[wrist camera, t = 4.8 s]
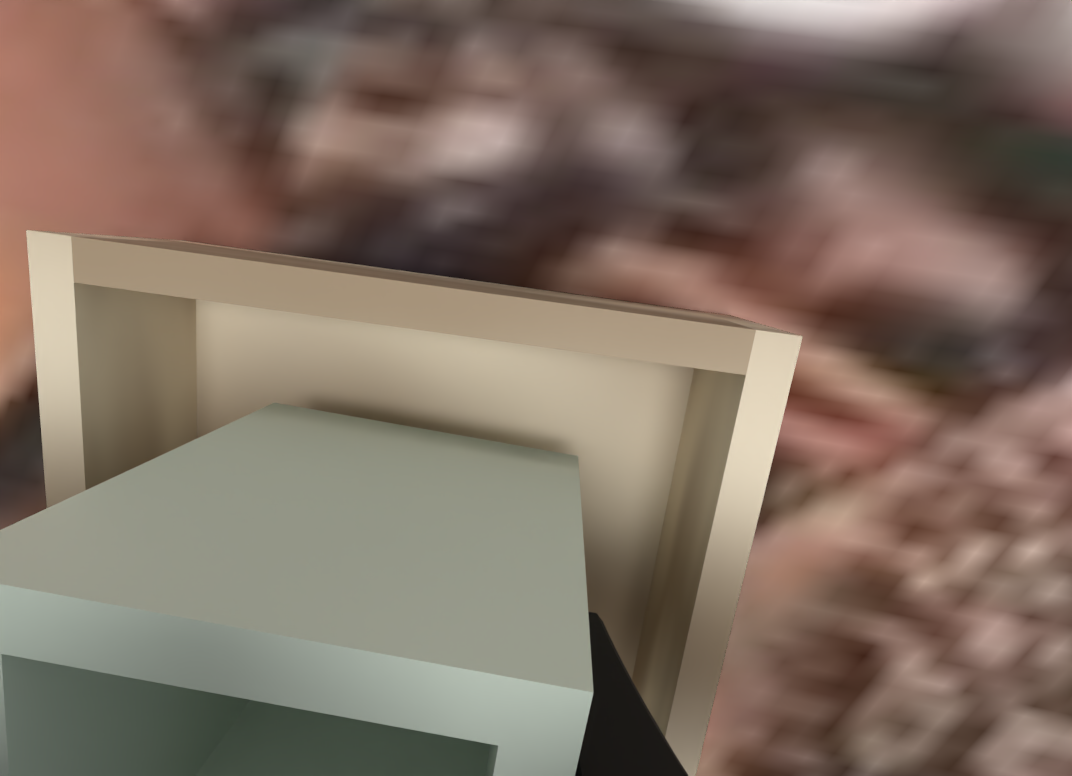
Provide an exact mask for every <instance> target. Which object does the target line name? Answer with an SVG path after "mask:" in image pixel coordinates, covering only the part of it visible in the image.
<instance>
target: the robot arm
mask: <svg viewBox="0 0 1072 776" xmlns="http://www.w3.org/2000/svg"><path fill="white" fill-rule="evenodd" d="M588 615H589V630H590V646H591V661H592V676H593V692H594V693H593V697H592V702H591V706H590V711H589V715H588V720H587V724H586V729H585V733H584V737H583V742H582V746H581V751H580V755H579V760H578V764H577V769H576V773H575V776H688V774H687V772H686V771H685V769H684V768H683V766H682V764H681V763H680V761H679V760H678V758H677V757H676V755H675V753H674V752H673V750H672V748H671V747H670V745H669V743H668V742H667V740H666V738H665V737H664V735H663V733H662V731H661V730H660V728H659V726H658V725H657V723H656V721H655V720H654V718H653V716H652V715H651V713H650V711H649V709H648V708H647V706H646V704H645V703H644V701H643V699H642V697H641V695H640V694H639V692H638V690H637V688H636V686H635V684H634V683H633V681H632V679H631V677H630V675H629V673H628V671H627V669H626V668H625V666H624V664H623V662H622V660H621V658H620V656H619V654H618V652H617V650H616V648H615V646H614V644H613V642H612V640H611V638H610V636H609V634H608V631H607V629H606V627H605V625H604V623H603V621H602V620H601V618H600V617H599V615H598V614H597V613H593V612H588Z"/></svg>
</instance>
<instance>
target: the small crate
mask: <svg viewBox="0 0 1072 776" xmlns="http://www.w3.org/2000/svg"><path fill="white" fill-rule="evenodd" d="M593 693H594V692H593V676H592V661H591V646H590V630H589V615H588V600H587V585H586V569H585V554H584V539H583V523H582V508H581V493H580V477H579V462H578V456H575V455H570V454H564V453H558V452H553V451H547V450H541V449H536V448H530V447H524V446H519V445H513V444H507V443H502V442H496V441H490V440H485V439H479V438H473V437H468V436H462V435H456V434H450V433H445V432H439V431H433V430H428V429H422V428H416V427H411V426H405V425H399V424H394V423H388V422H382V421H377V420H371V419H365V418H360V417H354V416H348V415H343V414H337V413H331V412H325V411H320V410H314V409H308V408H303V407H297V406H291V405H286V404H280V403H272V404H270V405H268V406H266V407H264V408H262V409H259V410H257V411H255V412H253V413H251V414H249V415H247V416H244V417H242V418H240V419H238V420H236V421H234V422H231V423H229V424H227V425H225V426H223V427H221V428H219V429H216V430H214V431H212V432H210V433H208V434H206V435H204V436H201V437H199V438H197V439H195V440H193V441H191V442H189V443H186V444H184V445H182V446H180V447H178V448H176V449H173V450H171V451H169V452H167V453H165V454H163V455H161V456H158V457H156V458H154V459H152V460H150V461H148V462H146V463H143V464H141V465H139V466H137V467H135V468H133V469H130V470H128V471H126V472H124V473H122V474H120V475H118V476H115V477H113V478H111V479H109V480H107V481H105V482H103V483H100V484H98V485H96V486H94V487H92V488H90V489H88V490H85V491H83V492H81V493H79V494H77V495H75V496H72V497H70V498H68V499H66V500H64V501H62V502H60V503H57V504H55V505H53V506H51V507H49V508H47V509H45V510H42V511H40V512H38V513H36V514H34V515H32V516H30V517H27V518H25V519H23V520H21V521H19V522H17V523H14V524H12V525H10V526H8V527H6V528H4V529H2V530H0V776H575V773H576V769H577V764H578V760H579V755H580V751H581V746H582V742H583V737H584V733H585V729H586V724H587V720H588V715H589V711H590V706H591V702H592V697H593Z"/></svg>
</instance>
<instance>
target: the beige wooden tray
mask: <svg viewBox="0 0 1072 776" xmlns="http://www.w3.org/2000/svg"><path fill="white" fill-rule="evenodd" d="M26 234H27V247H28V261H29V274H30V287H31V301H32V314H33V328H34V341H35V355H36V368H37V381H38V395H39V408H40V422H41V435H42V448H43V462H44V475H45V489H46V502H47V508H49V507H51V506H53V505H55V504H57V503H60V502H62V501H64V500H66V499H68V498H70V497H72V496H75V495H77V494H79V493H81V492H83V491H85V490H88V489H90V488H92V487H94V486H96V485H98V484H100V483H103V482H105V481H107V480H109V479H111V478H113V477H115V476H118V475H120V474H122V473H124V472H126V471H128V470H130V469H133V468H135V467H137V466H139V465H141V464H143V463H146V462H148V461H150V460H152V459H154V458H156V457H158V456H161V455H163V454H165V453H167V452H169V451H171V450H173V449H176V448H178V447H180V446H182V445H184V444H186V443H189V442H191V441H193V440H195V439H197V438H199V437H201V436H204V435H206V434H208V433H210V432H212V431H214V430H216V429H219V428H221V427H223V426H225V425H227V424H229V423H231V422H234V421H236V420H238V419H240V418H242V417H244V416H247V415H249V414H251V413H253V412H255V411H257V410H259V409H262V408H264V407H266V406H268V405H270V404H272V403H280V404H286V405H291V406H297V407H303V408H308V409H314V410H320V411H325V412H331V413H337V414H343V415H348V416H354V417H360V418H365V419H371V420H377V421H382V422H388V423H394V424H399V425H405V426H411V427H416V428H422V429H428V430H433V431H439V432H445V433H450V434H456V435H462V436H468V437H473V438H479V439H485V440H490V441H496V442H502V443H507V444H513V445H519V446H524V447H530V448H536V449H541V450H547V451H553V452H558V453H564V454H570V455H575V456H578V462H579V477H580V493H581V508H582V523H583V539H584V554H585V569H586V585H587V600H588V612H593V613H597V614H598V615H599V617H600V618H601V620H602V621H603V623H604V625H605V627H606V629H607V631H608V634H609V636H610V638H611V640H612V642H613V644H614V646H615V648H616V650H617V652H618V654H619V656H620V658H621V660H622V662H623V664H624V666H625V668H626V669H627V671H628V673H629V675H630V677H631V679H632V681H633V683H634V684H635V686H636V688H637V690H638V692H639V694H640V695H641V697H642V699H643V701H644V703H645V704H646V706H647V708H648V709H649V711H650V713H651V715H652V716H653V718H654V720H655V721H656V723H657V725H658V726H659V728H660V730H661V731H662V733H663V735H664V737H665V738H666V740H667V742H668V743H669V745H670V747H671V748H672V750H673V752H674V753H675V755H676V757H677V758H678V760H679V761H680V763H681V764H682V766H683V768H684V769H685V771H686V772H687V774H688V776H696V772H697V768H698V764H699V760H700V756H701V751H702V747H703V743H704V739H705V735H706V731H707V727H708V723H709V719H710V714H711V710H712V706H713V702H714V698H715V694H716V690H717V686H718V682H719V678H720V673H721V669H722V665H723V661H724V657H725V653H726V649H727V645H728V641H729V636H730V632H731V628H732V624H733V620H734V616H735V612H736V608H737V604H738V600H739V595H740V591H741V587H742V583H743V579H744V575H745V571H746V567H747V563H748V558H749V554H750V550H751V546H752V542H753V538H754V534H755V530H756V526H757V521H758V517H759V513H760V509H761V505H762V501H763V497H764V493H765V489H766V485H767V480H768V476H769V472H770V468H771V464H772V460H773V456H774V452H775V448H776V443H777V439H778V435H779V431H780V427H781V423H782V419H783V415H784V411H785V407H786V402H787V398H788V394H789V390H790V386H791V382H792V378H793V374H794V370H795V365H796V361H797V357H798V353H799V349H800V345H801V341H802V337H803V336H800V335H796V334H793V333H790V332H786V331H783V330H779V329H776V328H772V327H769V326H765V325H762V324H759V323H755V322H752V321H748V320H745V319H741V318H738V317H734V316H731V315H724V314H716V313H709V312H702V311H694V310H687V309H680V308H672V307H665V306H658V305H651V304H643V303H636V302H629V301H621V300H614V299H607V298H599V297H592V296H585V295H577V294H570V293H563V292H555V291H548V290H541V289H533V288H526V287H519V286H512V285H504V284H497V283H490V282H482V281H475V280H468V279H460V278H453V277H446V276H438V275H431V274H424V273H416V272H409V271H402V270H395V269H387V268H380V267H373V266H365V265H358V264H351V263H343V262H336V261H329V260H321V259H314V258H307V257H299V256H292V255H285V254H277V253H270V252H263V251H256V250H248V249H241V248H234V247H226V246H219V245H212V244H204V243H197V242H190V241H182V240H168V239H154V238H139V237H124V236H109V235H94V234H79V233H64V232H49V231H34V230H26Z"/></svg>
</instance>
